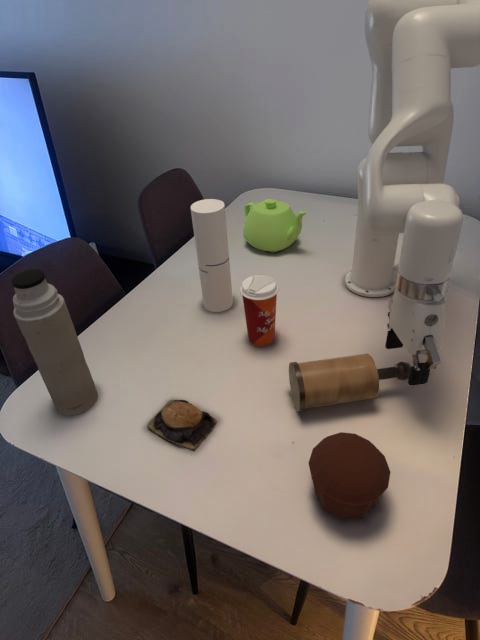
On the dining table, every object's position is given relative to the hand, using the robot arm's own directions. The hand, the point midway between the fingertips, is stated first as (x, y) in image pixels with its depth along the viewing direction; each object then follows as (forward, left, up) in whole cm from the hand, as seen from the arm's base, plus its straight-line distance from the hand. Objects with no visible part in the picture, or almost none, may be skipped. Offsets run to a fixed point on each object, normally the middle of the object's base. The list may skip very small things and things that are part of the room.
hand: (405, 364), depth 81 cm
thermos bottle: (+60, -9, -7) cm, 61 cm away
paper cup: (+22, -20, -7) cm, 31 cm away
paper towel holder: (+20, 0, -2) cm, 20 cm away
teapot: (+11, -61, -7) cm, 63 cm away
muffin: (+16, +19, -7) cm, 26 cm away
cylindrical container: (+30, -35, -7) cm, 47 cm away
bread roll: (+40, +1, -7) cm, 41 cm away
